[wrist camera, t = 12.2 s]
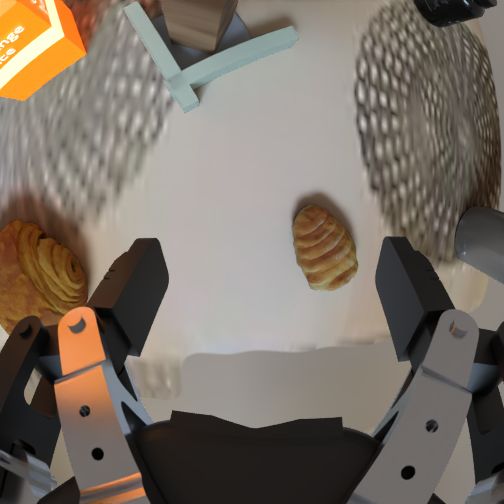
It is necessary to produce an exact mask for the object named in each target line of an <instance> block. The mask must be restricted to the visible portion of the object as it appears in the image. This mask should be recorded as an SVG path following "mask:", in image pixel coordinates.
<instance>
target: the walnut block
mask: <svg viewBox="0 0 504 504" xmlns="http://www.w3.org/2000/svg"><path fill="white" fill-rule="evenodd" d="M237 2H238V0H161V4H162V8H163V13H164V17H165V21H166V25H167V29H168V33H169V37H170V41H171V43H173V44H177V45H181V46H184V47H188V48H191V49H194V50H198V51H201V52H204V53H207V54H210V55H214V53H215V51H216V49H217V48H218V46H219V44H220V42H221V40H222V38H223V36H224V34H225V33H226V31H227V29H228V27H229V25H230V24H231V22H232V19H233V15H234V12H235V9H236V6H237Z"/></svg>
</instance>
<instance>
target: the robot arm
mask: <svg viewBox="0 0 504 504" xmlns="http://www.w3.org/2000/svg"><path fill="white" fill-rule="evenodd" d="M455 250H456V254H457V256H458V258H459V259H460V260H462V261H464V262H466V263H467V264H469V265H471V266H473V267H474V268H476V269H478V270H480V271H481V272H483V273H485V274H487V275H488V276H490V277H492V278H493V279H495V280H497V281H499V282H500V283H502V284H504V212H501V211H498V210H495V209H492V208H489V207H486V206H482V207H477V206H473V207H471V208H469V209H468V210H467V211H466V212H465V213H464V215H463V216H462V218H461V220H460V222H459V225H458V228H457V231H456V237H455ZM375 282H376V288H377V291H378V294H379V297H380V300H381V304H382V307H383V310H384V313H385V316H386V319H387V323H388V326H389V329H390V333H391V336H392V340H393V343H394V347H395V350H396V354H397V358H398V361H399V362H400V361H408V360H410V362H411V365H412V367H411V368H410V370H409V372H408V374H407V376H406V378H405V380H404V382H403V384H402V386H401V388H400V390H399V392H398V393H397V395H396V398H395V399H394V401H393V403H392V405H391V406H390V408H389V410H388V412H387V413H386V415H385V416H384V418H383V419H382V421H381V422H380V424H379V425H378V426H377V428H376V429H375V431H374V432H373V434H372V435H371V436H369V435H367V434H365V433H363V432H360V431H358V430H355V429H350V428H347V427H343V425H342V417H336V418H319V419H298V420H294V421H290V422H286V423H282V424H277V425H272V426H268V427H262V428H249V427H246V426H243V425H239V424H235V423H233V422H229V421H227V420H223V419H221V418H218V417H215V416H212V415H203V414H195V413H188V412H181V411H174V410H173V411H172V415H171V418H170V420H166V421H160V422H156V423H153V421H152V420H151V418H150V416H149V415H148V413H147V412H146V410H145V408H144V406H143V404H142V402H141V399H140V397H139V394H138V392H137V389H136V387H135V384H134V382H133V379H132V377H131V374H130V371H129V368H128V366H127V364H126V362H125V360H126V358H127V355H131V356H138V357H140V355H141V352H142V349H143V347H144V344H145V341H146V339H147V336H148V334H149V331H150V329H151V326H152V324H153V321H154V319H155V316H156V314H157V311H158V309H159V307H160V304H161V302H162V299H163V297H164V295H165V292H166V290H167V287H168V283H169V274H168V270H167V266H166V263H165V259H164V256H163V253H162V249H161V245H160V242H159V240H158V239H157V238H138V239H136V240H135V241H134V243H133V244H132V246H131V247H130V249H129V250H128V252H125V253H123V254H122V255H121V256H120V257H118V258H117V259H116V260H115V261H114V263H113V264H112V265H111V267H110V268H109V272H107V273H106V275H105V276H104V279H103V280H102V281H101V282H100V284H99V285H98V287H97V288H96V290H95V292H94V293H93V295H92V296H91V298H90V300H89V301H88V303H87V305H86V306H85V307H78V308H75V309H73V310H71V311H69V312H68V313H67V314H66V315H65V316H64V317H63V318H62V319H61V321H60V323H59V324H56V325H49V326H44V325H43V323H42V322H41V320H40V319H39V318H38V317H37V316H34V315H31V316H27V317H25V318H23V319H22V320H21V321H19V322H18V323H17V325H16V326H15V327H14V329H13V331H12V332H11V334H10V336H9V338H8V339H7V341H6V343H5V345H4V347H3V348H2V350H1V352H0V504H445V503H444V502H443V501H442V500H441V499H440V498H439V497H438V496H436V495H435V494H434V493H433V492H434V490H435V488H436V486H437V484H438V482H439V480H440V479H441V477H442V475H443V472H444V470H445V468H446V466H447V464H448V462H449V459H450V457H451V455H452V452H453V450H454V448H455V446H456V443H457V441H458V438H459V435H460V432H461V430H462V427H463V424H464V422H465V419H466V417H467V422H468V427H469V433H470V439H471V446H472V453H473V461H474V471H475V484H476V486H475V487H474V489H473V491H472V492H471V495H470V496H469V497H468V498H467V499H466V501H465V504H504V407H503V403H502V399H501V396H500V392H499V389H498V385H499V384H500V383H501V382H502V381H503V382H504V322H502V323H501V325H500V326H499V328H498V329H497V331H491V330H486V329H480V328H478V326H477V324H476V322H475V320H474V319H473V318H472V317H471V316H469V315H468V314H467V313H465V312H463V311H461V310H457V309H455V307H454V305H453V303H452V301H451V299H450V297H449V295H448V294H447V292H446V290H445V288H444V286H443V284H442V282H441V281H440V280H439V277H438V275H437V273H436V272H434V268H433V267H432V265H431V263H430V261H429V260H428V259H427V258H426V257H425V256H424V255H423V254H421V253H420V252H419V251H414V249H413V247H412V246H411V244H410V242H409V241H408V239H407V238H406V237H389V236H387V237H385V238H384V240H383V243H382V248H381V252H380V257H379V261H378V265H377V269H376V276H375ZM34 368H35V369H36V370H37V371H38V372H39V373H40V374H41V375H42V377H41V379H40V381H39V384H38V386H37V389H36V391H35V394H34V396H33V399H32V401H31V404H30V405H28V404H27V402H26V401H25V398H24V390H25V387H26V385H27V382H28V380H29V378H30V376H31V373H32V371H33V369H34ZM61 427H62V432H63V436H64V440H65V444H66V448H67V452H68V455H69V459H70V462H71V466H72V469H73V472H74V475H75V476H74V477H72V478H71V479H69V480H68V481H66V482H65V483H63V484H62V485H60V486H59V487H57V481H56V479H55V477H54V476H52V475H51V473H50V470H49V469H50V465H51V461H52V458H53V454H54V450H55V446H56V443H57V439H58V436H59V433H60V430H61ZM56 487H57V488H56ZM51 490H52V491H51Z"/></svg>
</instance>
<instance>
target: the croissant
mask: <svg viewBox="0 0 504 504" xmlns="http://www.w3.org/2000/svg"><path fill="white" fill-rule="evenodd" d="M87 300H88V284H87V280H86V277H85V274H84V272H83V270H82V268H81V265H80V263H79V261H78V259H77V258H76V257H75V256H74V255H73V254H72V252H71V251H70V250H68V249H67V248H64V245H63V242H62V244H61V245H60V243H58V242H56V241H55V240H54V239H52V238H47V236H46V233H45V232H43V230H42V229H41V228H40V227H39V226H37V225H35V224H32V222H31V223H29V224H28V223H22V222H21V221H20V220H16V221H12V222H11V223H9V224H8V225H7V226H6V227H5V228H4V229H3V230H2V231H1V232H0V324H1V326H2V327H3V329H4V330H5V331H6V332H7V334H9V335H10V334H11V332H12V331H13V329H14V327H15V326H16V325H17V323H18V322H19V321H21V320H22V319H23V318H25V317H27V316H31V315H34V316H37V317H38V318H39V319H40V320H41V322H42V323H43V325H44V326H49V325H56V324H59V323H60V321H61V319H62V318H63V317H64V316H65V315H66V314H67V313H68V312H69V311H71V310H73V309H75V308H78V307H85V306H86V304H87Z"/></svg>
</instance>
